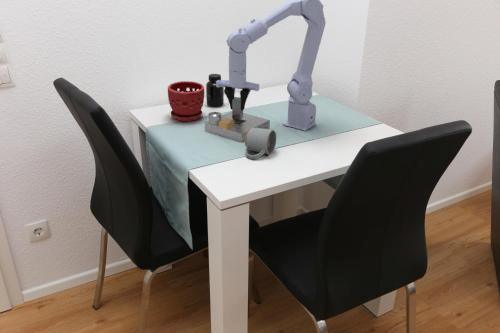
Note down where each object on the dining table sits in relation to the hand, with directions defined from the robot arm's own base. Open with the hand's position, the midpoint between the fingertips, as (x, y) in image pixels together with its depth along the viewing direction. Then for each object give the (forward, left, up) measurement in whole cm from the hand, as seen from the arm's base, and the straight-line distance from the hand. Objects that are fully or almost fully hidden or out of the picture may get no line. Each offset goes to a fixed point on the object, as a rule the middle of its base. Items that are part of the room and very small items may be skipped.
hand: (237, 109), depth 161 cm
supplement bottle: (+23, -15, -8) cm, 29 cm away
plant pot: (+22, +2, -8) cm, 23 cm away
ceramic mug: (-17, +11, -8) cm, 22 cm away
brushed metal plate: (0, 0, -8) cm, 8 cm away
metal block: (0, 0, -3) cm, 3 cm away
